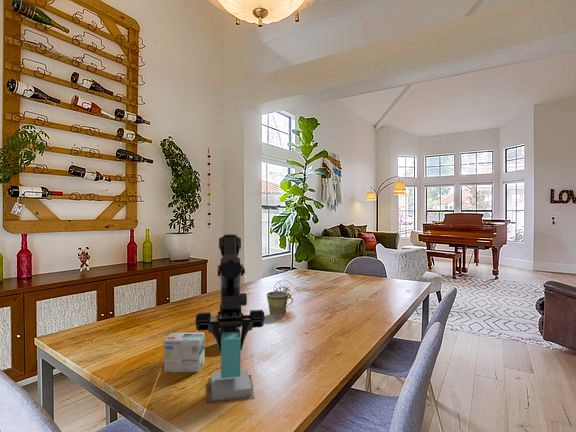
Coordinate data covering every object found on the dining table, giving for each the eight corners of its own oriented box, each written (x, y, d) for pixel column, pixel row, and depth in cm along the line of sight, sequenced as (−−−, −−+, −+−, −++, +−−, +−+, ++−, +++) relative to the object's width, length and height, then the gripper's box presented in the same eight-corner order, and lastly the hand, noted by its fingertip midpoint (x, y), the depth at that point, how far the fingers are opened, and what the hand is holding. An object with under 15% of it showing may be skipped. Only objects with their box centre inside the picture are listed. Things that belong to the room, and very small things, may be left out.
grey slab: (211, 380, 92) (211, 373, 92) (247, 376, 94) (247, 369, 94) (211, 400, 82) (211, 392, 82) (251, 395, 85) (251, 388, 85)
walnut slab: (208, 385, 93) (208, 378, 93) (251, 381, 95) (251, 374, 95) (206, 410, 81) (206, 402, 81) (254, 405, 84) (254, 398, 84)
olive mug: (262, 316, 151) (262, 294, 151) (273, 310, 160) (273, 290, 160) (287, 321, 145) (287, 298, 145) (297, 315, 154) (297, 293, 154)
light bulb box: (205, 365, 104) (205, 331, 103) (200, 376, 97) (200, 340, 97) (170, 365, 103) (170, 331, 103) (163, 376, 96) (163, 340, 96)
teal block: (221, 368, 90) (221, 332, 90) (239, 367, 91) (239, 331, 91) (220, 378, 85) (221, 340, 85) (240, 376, 86) (240, 338, 86)
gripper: (196, 283, 90) (192, 339, 79) (264, 281, 93) (268, 335, 83) (198, 304, 98) (194, 357, 87) (261, 301, 101) (264, 352, 91)
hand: (230, 350), depth 87 cm, fingers closed on teal block, 5 cm apart
